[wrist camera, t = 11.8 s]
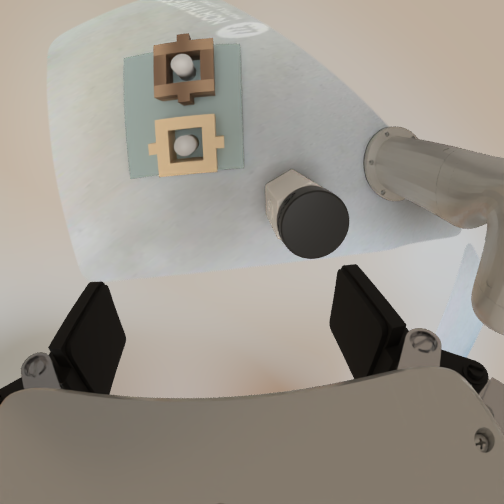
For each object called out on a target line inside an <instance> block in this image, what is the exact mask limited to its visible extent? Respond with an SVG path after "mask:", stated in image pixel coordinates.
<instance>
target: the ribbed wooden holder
mask: <svg viewBox="0 0 504 504" xmlns="http://www.w3.org/2000/svg"><path fill="white" fill-rule="evenodd" d="M179 54H186V55H188V56H190V58H191V60H192V61H194V60H200V77H201V80H195V81H186V82H178V83H173V69H172V68H171V61H172V59H173V58H174V57H175V56H176V55H179ZM153 72H154V98H156V99H158V100H161V101H170V100H178V103H180V104H182V105H183V106H186V105H194V98H196V97H207V96H215V72H214V44H213V38H208V39H196V40H191V38H190V36H189V33H188V34H180V35H177V42H172V43H166V44H160V45H154V51H153Z"/></svg>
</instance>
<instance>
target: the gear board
mask: <svg viewBox="0 0 504 504" xmlns="http://www.w3.org/2000/svg"><path fill="white" fill-rule="evenodd" d="M171 68H172V69H173V83H178V82H186V81H195V80H201V77H200V60H194V61H192V60H191V58H190V56H188V55H186V54H179V55H176V56H175V57H174V58H173V59H172V61H171ZM214 72H215V96H207V97H196V98H194V105H186V106H183V105H182V104H180V103H178V100H170V101H161V100H158V99H156V98H154V72H153V52H152V53H147V54H142V55H137V56H132V57H128V58H124V110H125V128H126V141H127V152H128V162H129V171H130V179H134V178H141V177H149V176H157V175H159V177H165V176H175V175H185V174H196V173H208V172H217V170H222V169H240V168H244V158H243V128H242V96H241V62H240V44H220V45H214Z"/></svg>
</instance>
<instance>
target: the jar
mask: <svg viewBox="0 0 504 504" xmlns="http://www.w3.org/2000/svg"><path fill="white" fill-rule="evenodd" d="M265 197H266V216H267V218H268V220H269V222H270V224H271V226H272V228H273V230H274V232H275V234H276V236H277V238H278V239H280V240H282V241H283V243H284V244H285V245H286V247H287V248H288V249H289V250H290V251H291V252H292V253H294V254H295V255H297V256H299V257H302V258H307V259H315V258H320V257H324V256H326V255H328V254H330V253H331V252H333V251H334V250H336V249H337V248H338V247H339V246H340V244H341V243H342V242H343V240H344V238H345V237H346V234H347V232H348V228H349V214H348V211H347V208H346V206H345V204H344V203H343V201H342V200H341V199H340V198H339V197H338V196H336V195H335V194H333V193H332V192H330V191H329V190H327V189H325V188H323V187H322V186H320V185H319V184H317V183H315V182H314V181H312V180H310V179H309V178H307V177H305V176H303V175H302V174H300V173H298V172H297V171H295V170H293V169H291V170H289V171H288V172H286V173H284V174H283V175H281V176H279V177H278V178H276V179H274V180H273V181H271V182H269V183H268V184H266V185H265Z"/></svg>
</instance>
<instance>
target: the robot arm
mask: <svg viewBox="0 0 504 504" xmlns="http://www.w3.org/2000/svg"><path fill="white" fill-rule="evenodd" d="M369 161H370V162H369ZM364 168H365V174H366V178H367V180H368V183H369V185H370V186H371V188H372V189H373V190H374V191H375V193H376V194H378V195H379V196H381V197H382V198H384V199H386V200H390V201H401V200H404V199H407V200H409V201H411V202H413V203H415V204H417V205H419V206H420V207H422V208H424V209H426V210H428V211H430V212H431V213H433V214H435V215H437V216H439V217H440V218H442V219H444V220H446V221H447V222H449V223H451V224H453V225H454V226H457V227H459V228H463V229H472V228H476V227H479V226H482V225H484V224H486V223H487V233H486V238H485V245H484V249H483V253H482V257H481V261H480V264H479V268H478V271H477V275H476V278H475V282H474V286H473V290H472V297H471V301H472V307H473V310H474V312H475V314H476V316H477V317H478V319H479V320H480V321H481V322H482V323H483V324H484V325H486V326H487V327H488V328H490V329H492V330H494V331H495V332H497V333H499V334H502V335H504V158H500V157H494V156H490V155H486V154H482V153H477V152H473V151H470V150H466V149H462V148H457V147H453V146H448V145H445V144H439V143H434V142H430V141H424V140H419V139H418V138H417V137H416V136H415V135H414V134H413V133H412V132H411V131H409V130H407V129H405V128H402V127H387V128H384V129H382V130H381V131H379V132H378V133H377V134H376V135H375V136H373V138H372V139H371V141H370V142H369V145H368V147H367V149H366V153H365V160H364ZM330 329H331V331H332V333H333V335H334V337H335V339H336V341H337V343H338V345H339V347H340V349H341V352H342V353H343V356H344V358H345V360H346V362H347V364H348V366H349V369H350V371H351V373H352V375H353V377H354V379H353V380H349V381H344V382H339V383H334V384H329V385H323V386H317V387H312V388H306V389H299V390H292V391H285V392H277V393H269V394H261V395H249V396H237V397H219V398H147V397H130V396H117V395H109V394H110V390H111V387H112V383H113V380H114V377H115V373H116V370H117V367H118V364H119V361H120V358H121V355H122V351H123V349H124V346H125V342H126V336H125V333H124V330H123V328H122V325H121V322H120V320H119V317H118V314H117V311H116V308H115V306H114V303H113V300H112V297H111V293H110V290H109V288H108V286H107V285H105V284H104V283H103V282H90V283H89V284H88V285H87V287H86V288H85V290H84V291H83V292H82V294H81V296H80V297H79V298H78V300H77V302H76V303H75V305H74V306H73V308H72V309H71V311H70V312H69V314H68V315H67V317H66V319H65V320H64V322H63V324H62V325H61V327H60V329H59V330H58V332H57V334H56V335H55V337H54V339H53V340H52V342H51V344H50V346H49V347H48V348H49V349H50V351H51V352H50V354H49V355H47V354H46V353H42V352H40V353H35V354H33V355H31V356H29V357H28V358H27V359H26V360H25V361H24V363H23V365H22V367H21V376H22V377H21V378H19V379H18V380H16V381H14V382H12V383H10V384H9V385H7V386H5V387H3V388H1V389H0V504H504V384H502V383H501V382H499V381H498V380H496V379H494V378H491V380H489V379H488V373H487V370H486V369H485V367H484V366H483V365H482V364H480V363H478V362H476V361H474V360H471V359H468V358H465V357H462V356H459V355H456V354H453V353H450V352H447V351H444V350H441V341H440V339H439V338H438V337H437V335H436V334H434V333H433V332H431V331H429V330H427V329H422V328H416V329H412V330H410V331H408V329H407V328H406V324H405V323H404V321H403V320H402V319H401V317H400V316H399V315H398V314H397V312H396V311H395V310H394V309H393V308H392V306H391V305H390V304H389V302H388V301H387V300H386V299H385V297H384V296H383V295H382V294H381V293H380V291H379V290H378V289H377V288H376V287H375V285H374V284H373V283H372V282H371V281H370V279H369V278H368V277H367V276H366V275H365V274H364V272H363V271H362V270H361V269H360V268H359V267H358V265H356V264H355V265H344V266H342V268H341V269H339V270H338V272H337V279H336V286H335V292H334V299H333V304H332V310H331V316H330Z"/></svg>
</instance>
